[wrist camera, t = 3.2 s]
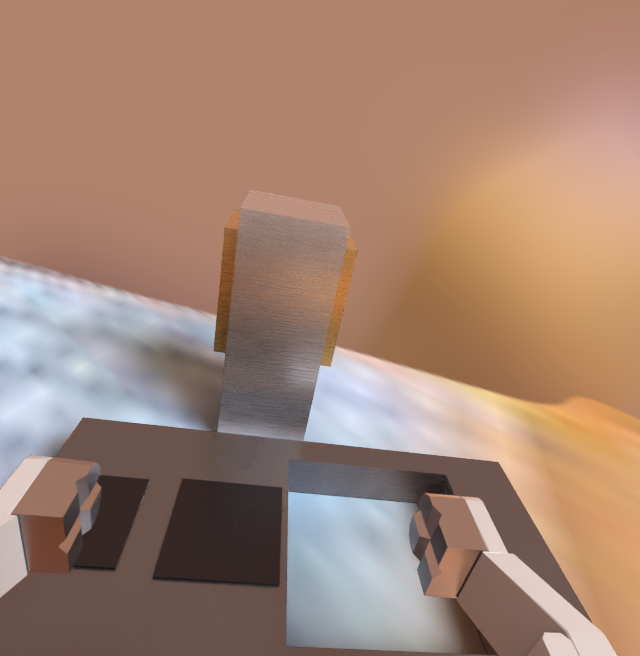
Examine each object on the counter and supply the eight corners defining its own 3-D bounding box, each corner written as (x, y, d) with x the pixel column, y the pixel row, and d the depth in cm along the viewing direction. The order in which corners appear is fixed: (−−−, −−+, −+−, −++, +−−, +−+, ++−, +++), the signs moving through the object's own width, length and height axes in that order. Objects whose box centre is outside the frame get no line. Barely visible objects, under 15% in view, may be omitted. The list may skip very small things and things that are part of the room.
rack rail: (-86, 729, 11) (-106, 687, 10) (85, 451, 20) (83, 415, 19) (610, 739, 13) (644, 706, 13) (484, 490, 22) (499, 460, 21)
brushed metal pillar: (204, 438, 22) (225, 205, 17) (218, 387, 26) (238, 187, 21) (312, 449, 23) (364, 230, 18) (309, 398, 27) (351, 208, 22)
